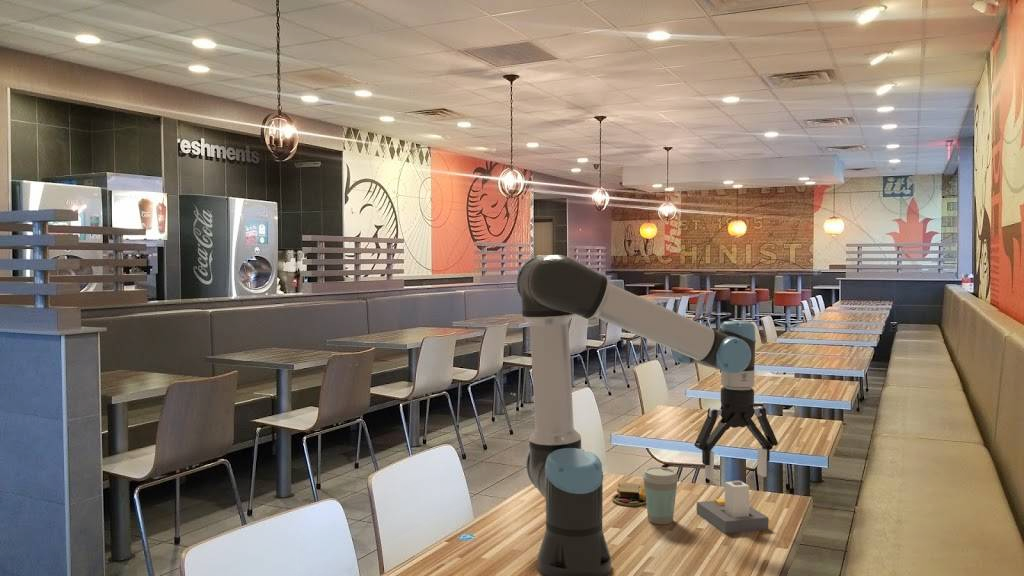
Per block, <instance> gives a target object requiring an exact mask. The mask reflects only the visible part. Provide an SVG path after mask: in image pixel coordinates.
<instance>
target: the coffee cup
mask: <svg viewBox="0 0 1024 576" xmlns="http://www.w3.org/2000/svg"><path fill="white" fill-rule="evenodd" d="M642 481H643V485H644V489H645V496H646V503H645V504H646V511H647V520H648V522H650V523H652V524H653V525H654V524H655V525H670V524H672V523H673V520H674V513H675V504H676V496H677V495H676V494H677V488H678V482H679V481H680V479H679V476H678V473H677V471H676V470H675V469H673V468H668V467H663V466H656V467H655V466H652V467H648V468H645V470H644V473H643V474H642Z"/></svg>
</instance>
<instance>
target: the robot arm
mask: <svg viewBox="0 0 1024 576" xmlns="http://www.w3.org/2000/svg"><path fill="white" fill-rule="evenodd" d="M516 276H517V277H516V289H517V292H518V294H519V297H520V298H521V312H522V318H523V319H524V320H525V321H526V322H527V323H528V325H529V331H530V332H529V335H530V351H531V370H532V392H533V404H534V405H533V409H534V426H535V427H534V429H535V430H534V431H533V432H532V433H531V435H530V436H529V438H528V443H529V445H528V446H529V451H528V453H527V456H526V461H525V462H526V464H525V465H526V466H525V467H526V471H527V475H528V478H529V480H530V482H531V483H532V486H534V487H535V489H537V491H539V492H540V494H541V495H542V497H543V498H544V499H545V532H544V535H543V538H542V541H541V544H540V548H539V551H538V554H537V569H538V571H539V573H540V574H542V575H543V576H608V575H609V574H610V573H611V571H612V557H611V554H610V550H609V548H608V547H609V546H608V544H607V541H606V539H605V538H606V537H605V535H604V531H603V530H604V529H603V502H604V501H603V496H604V495H603V489H604V488H603V486H604V485H603V484H604V483H603V481H604V472H603V464H602V461H601V459H600V457H598V456H597V455H596V454H595V453H593V452H591V451H589V450H584V449H582V435H581V434H580V433H579V432H578V431H577V430H576V429H575V427H574V410H573V408H574V407H573V390H572V389H573V388H572V371H571V370H572V369H571V352H570V351H571V349H570V347H571V346H570V332H569V331H570V329H569V322H570V321H571V320H572V318H573V317H574V316H575V315H576V316H579V317H582V318H584V319H587V320H591V319H593V318H597V319H599V320H602V321H604V322H606V323H607V324H610V325H613V326H616V327H618V328H621V329H623V330H625V331H628V332H630V333H633V334H634V335H636V336H639V337H641V338H644V339H646V340H648V341H651V342H653V343H656V344H658V345H660V346H662V347H664V348H667V349H670V350H671V354H672V356H673V359H674V361H676V362H677V363H678V364H687V365H690V364H699V365H702V366H705V367H709V368H713V369H715V370H718V371H720V385H721V388H720V404H721V405H720V408H719V409H717V408H712V407H709V408H708V409H707V413H706V418H705V420H704V423H703V425H702V427H701V430H700V432H699V433H698V436H697V438H696V440H695V442H694V444H693V445H694V447H695V448H697V449H699V450H701V452H702V454H701V455H702V457H701V462H702V464H703V465H704V478H706V479H708V480H709V481H714V479H715V478H714V476H715V475H714V471H715V469H714V468H715V452H714V451H712V450H713V448H715V446H716V444H717V443H718V442H719V440H720V439H721V438H722V437H723V435H724V434H725V433H726V431H728V430H729V429H731V428H733V429H734V428H735V429H736V428H739V427H740V428H745V427H746V428H747V429H748V431H749V432H750V433H751V434H752V436H753V437H754V438H755V440H756V441H757V443H759V444H760V446H758V447H757V469H756V470H757V471H756V472H757V475H758V476H761V477H763V478H765V477H766V478H767V471H768V469H767V468H768V467H767V462H770V459H771V458H770V455H771V454H770V453H771V451H772V450H773V448H774V446H775V447H776V446H778V444H779V443H778V440H777V437H776V435H775V432H774V431H773V429H772V426H771V424H770V422H769V420H768V417H767V409H766V407H763V406H761V405H756V406H755V407H754V404H755V390H754V388H753V387H755V365H756V363H755V362H756V361H755V359H756V357H755V356H756V342H757V341H756V329H755V328H756V326H755V324H754V323H752V322H750V321H743V320H740V321H739V320H727V321H723V322H722V323H721V328H720V329H719V330H718V329H714V328H713V327H709V326H707V325H705V324H703V323H701V322H698V321H696V320H695V319H694V320H693V319H691V318H689V317H686V316H685V315H682V314H680V313H678V312H676V311H673V310H671V309H669V308H667V307H664V306H662V305H660V304H658V303H655V302H652V301H651V300H648V299H647V298H643V297H641V296H640V295H637V294H634V293H633V292H630V291H628V290H626V289H624V288H621V287H619V286H617V285H614V284H612V283H610V281H609V278H608V276H605V275H604V274H602V273H599V272H597V271H595V270H593V269H591V268H589V267H588V266H585V265H583V264H582V263H580V262H578V261H577V260H575V259H573V258H571V257H569V256H566V255H563V254H539V255H536V256H533V257H531V258H530V259H528V260H527V261H526V262H525V263H523V265H522V266H521V267H520V268H519V270H518V273H517V275H516ZM754 416H756V419H757V421H758V423H759V426H760V429H762V432H763V433H762V432H761V431H760V430H759V428H758V427H757V424H756V423H755V422H754V420H753V419H752V418H753V417H754ZM720 417H721V418H720ZM719 418H720V420H718V419H719ZM717 420H718V422H717ZM716 422H717V424H716ZM715 425H716V426H715ZM714 427H715V428H714ZM763 434H764V435H763Z"/></svg>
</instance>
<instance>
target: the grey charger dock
mask: <svg viewBox="0 0 1024 576" xmlns="http://www.w3.org/2000/svg"><path fill="white" fill-rule="evenodd" d="M696 514H697V515H698V516H700V517H701V518H702V519H704V520H705V521H707V522H708V523H709V524H711V525H712V526H713V527H715V528H716V529H718V530H719V531H720V532H721V533H723V534H724V535H729V534H730V535H731V534H738V533H746V532H754V531H755V532H756V531H764V530H769V517H768V516H767V515H766V514H763V513H762V512H760V511H758V510H757V509H755V508H754V507H752V506H750V505H749V517H738V518H731V517H730V516H728V515H727V514H725V498H718V499H714V500H707V501H696Z"/></svg>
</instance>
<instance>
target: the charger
mask: <svg viewBox="0 0 1024 576" xmlns="http://www.w3.org/2000/svg"><path fill="white" fill-rule="evenodd" d="M724 499H725V514H727V515H728V516H730V517H731V518H738V517H749V506H750V485H748V484H747V483H745V482H744V481H742V480H732V481H725V482H724Z"/></svg>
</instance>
